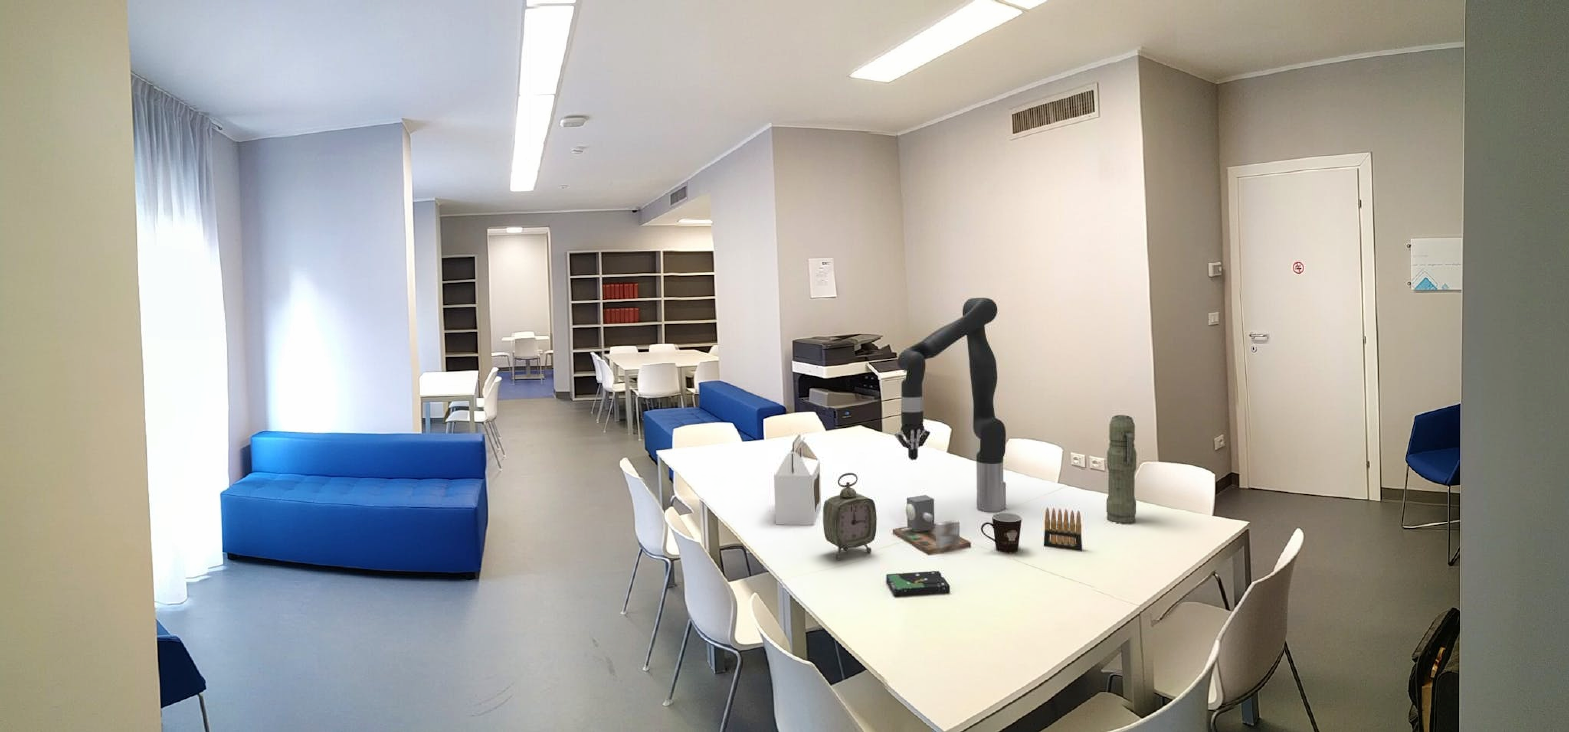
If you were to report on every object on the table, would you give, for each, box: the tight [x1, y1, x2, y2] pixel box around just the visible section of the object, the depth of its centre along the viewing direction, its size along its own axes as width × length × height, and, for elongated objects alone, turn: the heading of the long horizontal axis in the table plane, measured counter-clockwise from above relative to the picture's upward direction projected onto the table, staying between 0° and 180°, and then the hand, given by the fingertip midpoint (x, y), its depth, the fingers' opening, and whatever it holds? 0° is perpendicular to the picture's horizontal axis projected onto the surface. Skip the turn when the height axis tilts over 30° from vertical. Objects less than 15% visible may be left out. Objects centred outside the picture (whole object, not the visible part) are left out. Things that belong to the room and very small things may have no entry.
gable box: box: [773, 434, 822, 526], centre depth 257 cm, size 22×13×28 cm, turn 170°
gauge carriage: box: [901, 494, 935, 532], centre depth 231 cm, size 10×8×10 cm
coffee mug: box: [980, 512, 1023, 554], centre depth 218 cm, size 12×9×10 cm
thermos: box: [1105, 414, 1138, 525], centre depth 239 cm, size 9×12×35 cm
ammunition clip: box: [1043, 507, 1083, 552], centre depth 217 cm, size 11×2×12 cm, turn 61°
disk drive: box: [885, 570, 951, 598], centre depth 192 cm, size 10×3×15 cm
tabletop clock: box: [822, 472, 878, 561], centre depth 217 cm, size 14×9×25 cm, turn 117°
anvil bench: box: [892, 519, 972, 556], centre depth 228 cm, size 15×22×8 cm
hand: (913, 459), depth 247 cm, fingers closed
